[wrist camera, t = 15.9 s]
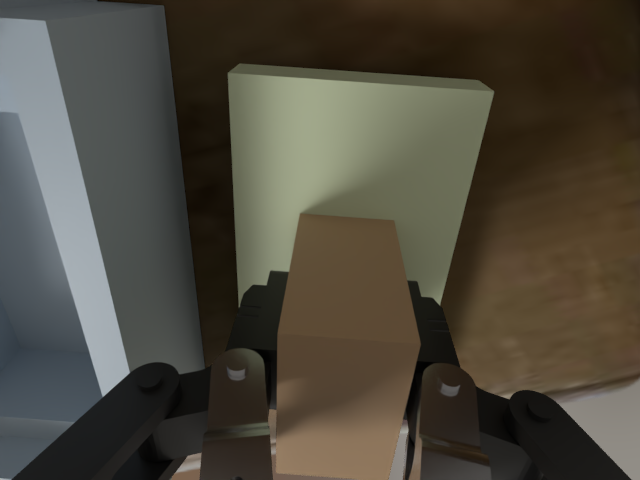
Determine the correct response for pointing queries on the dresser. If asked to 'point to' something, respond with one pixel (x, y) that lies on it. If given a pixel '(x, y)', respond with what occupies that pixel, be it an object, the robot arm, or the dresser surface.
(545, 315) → the dresser surface
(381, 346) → the lid
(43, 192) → the blue-grey open box
